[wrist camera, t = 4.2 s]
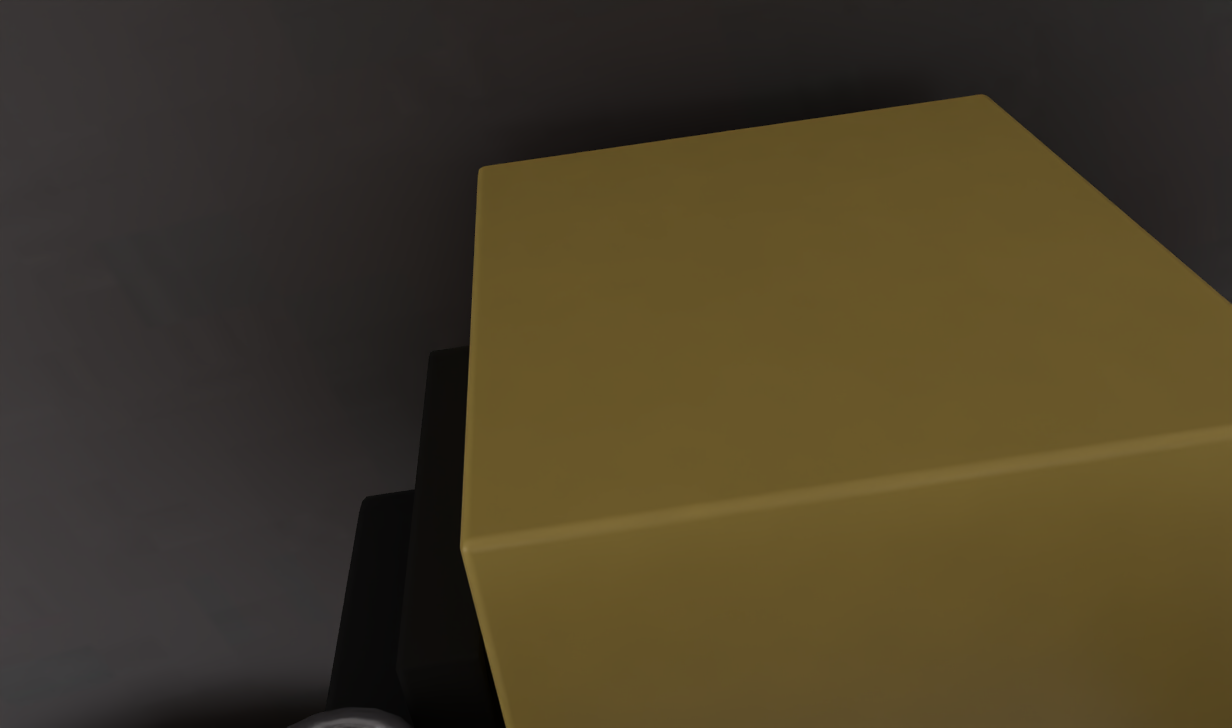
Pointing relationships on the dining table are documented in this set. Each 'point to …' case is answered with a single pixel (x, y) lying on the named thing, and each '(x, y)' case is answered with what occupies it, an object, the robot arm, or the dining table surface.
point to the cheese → (844, 437)
